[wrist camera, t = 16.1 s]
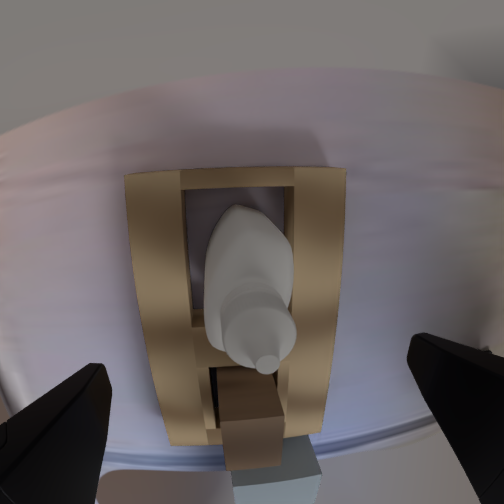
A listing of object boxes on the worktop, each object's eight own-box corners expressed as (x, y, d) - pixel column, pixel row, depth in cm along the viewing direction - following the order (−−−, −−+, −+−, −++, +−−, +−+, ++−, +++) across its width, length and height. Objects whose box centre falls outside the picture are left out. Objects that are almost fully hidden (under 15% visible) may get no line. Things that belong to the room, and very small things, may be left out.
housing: (297, 482, 28) (309, 521, 23) (234, 490, 28) (239, 530, 22) (305, 427, 26) (322, 474, 20) (227, 437, 25) (232, 486, 19)
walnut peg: (264, 398, 24) (280, 465, 17) (220, 402, 23) (226, 470, 17) (264, 348, 22) (284, 415, 16) (215, 352, 22) (219, 421, 15)
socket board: (312, 412, 25) (320, 432, 23) (172, 424, 24) (170, 445, 21) (330, 167, 19) (346, 168, 17) (134, 173, 18) (124, 175, 16)
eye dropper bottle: (290, 242, 20) (381, 340, 9) (227, 301, 21) (249, 443, 10) (243, 192, 19) (292, 242, 8) (178, 256, 20) (144, 378, 8)
